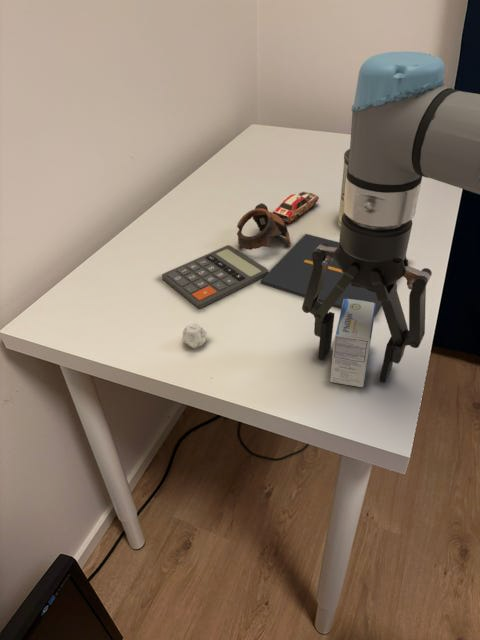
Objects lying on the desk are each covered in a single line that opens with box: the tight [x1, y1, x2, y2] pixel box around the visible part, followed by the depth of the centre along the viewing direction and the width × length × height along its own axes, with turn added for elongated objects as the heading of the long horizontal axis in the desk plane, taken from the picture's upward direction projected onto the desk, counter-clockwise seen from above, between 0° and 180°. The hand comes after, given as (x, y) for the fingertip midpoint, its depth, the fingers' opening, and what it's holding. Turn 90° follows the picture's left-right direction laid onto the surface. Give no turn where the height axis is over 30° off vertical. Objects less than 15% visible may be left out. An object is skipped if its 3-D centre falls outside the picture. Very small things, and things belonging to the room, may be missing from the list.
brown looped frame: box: [236, 203, 292, 251], centre depth 92 cm, size 12×10×8 cm
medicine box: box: [329, 299, 376, 388], centre depth 64 cm, size 8×4×9 cm, turn 163°
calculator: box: [161, 244, 269, 309], centre depth 85 cm, size 12×1×15 cm
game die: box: [181, 322, 208, 349], centre depth 71 cm, size 4×4×3 cm
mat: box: [260, 233, 409, 318], centre depth 84 cm, size 20×18×1 cm
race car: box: [272, 191, 320, 224], centre depth 101 cm, size 5×12×5 cm, turn 137°
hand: (353, 363), depth 67 cm, fingers open, 8 cm apart
